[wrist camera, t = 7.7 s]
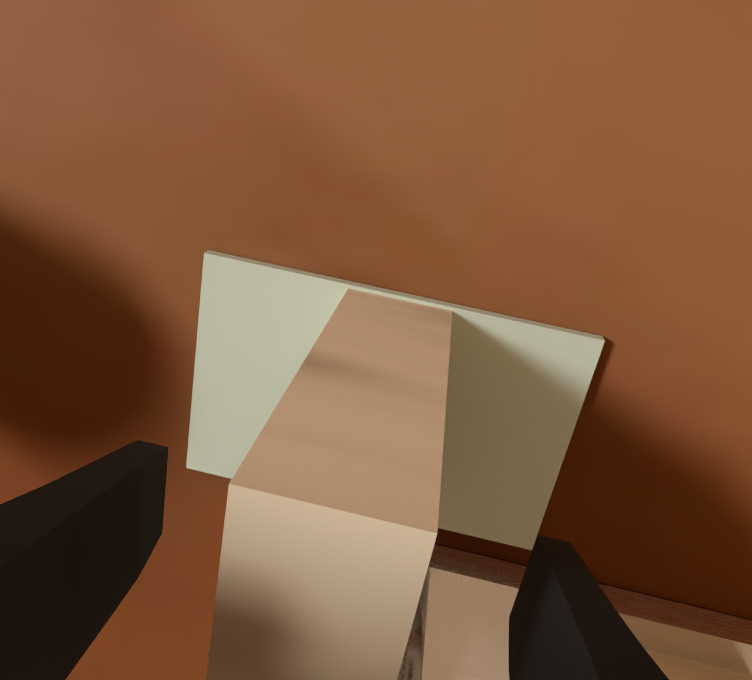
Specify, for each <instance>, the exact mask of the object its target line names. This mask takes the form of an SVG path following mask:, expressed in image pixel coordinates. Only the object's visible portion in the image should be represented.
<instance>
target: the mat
mask: <svg viewBox="0 0 752 680" xmlns="http://www.w3.org/2000/svg"><path fill="white" fill-rule="evenodd" d="M348 288H351V289H355V290H360V291H364V292H369V293H373V294H378V295H382V296H387V297H392V298H396V299H401V300H405V301H410V302H414V303H419V304H423V305H428V306H433V307H437V308H442V309H446V310H451V311H452V324H451V339H450V354H449V369H448V383H447V398H446V413H445V428H444V443H443V457H442V472H441V487H440V502H439V517H438V528H440V529H444V530H449V531H453V532H457V533H461V534H465V535H470V536H474V537H478V538H482V539H486V540H490V541H495V542H499V543H503V544H507V545H511V546H516V547H520V548H524V549H528V550H532V548H533V546H534V543H535V540H536V537H537V534H538V531H539V528H540V525H541V523H542V520H543V517H544V514H545V511H546V508H547V505H548V503H549V500H550V497H551V494H552V491H553V488H554V485H555V482H556V480H557V477H558V474H559V471H560V468H561V465H562V462H563V460H564V457H565V454H566V451H567V448H568V445H569V442H570V439H571V437H572V434H573V431H574V428H575V425H576V422H577V419H578V417H579V414H580V411H581V408H582V405H583V402H584V399H585V396H586V394H587V391H588V388H589V385H590V382H591V379H592V376H593V374H594V371H595V368H596V365H597V362H598V359H599V356H600V353H601V351H602V348H603V345H604V342H605V340H604V338H603V336H599V335H594V334H590V333H585V332H581V331H576V330H571V329H567V328H562V327H558V326H553V325H549V324H544V323H539V322H535V321H530V320H526V319H521V318H517V317H512V316H507V315H503V314H498V313H494V312H489V311H485V310H480V309H475V308H471V307H466V306H462V305H457V304H453V303H448V302H443V301H439V300H434V299H430V298H425V297H421V296H416V295H411V294H407V293H402V292H398V291H393V290H389V289H384V288H379V287H375V286H370V285H366V284H361V283H357V282H352V281H347V280H343V279H338V278H334V277H329V276H325V275H320V274H315V273H311V272H306V271H302V270H297V269H293V268H288V267H283V266H279V265H274V264H270V263H265V262H261V261H256V260H251V259H247V258H242V257H238V256H233V255H229V254H224V253H219V252H215V251H210V250H208V251H206V252H205V253H204V261H203V273H202V285H201V297H200V309H199V321H198V333H197V344H196V356H195V368H194V380H193V392H192V404H191V416H190V428H189V440H188V452H187V464H186V468H189V469H193V470H197V471H202V472H206V473H210V474H214V475H218V476H222V477H227V478H231V479H232V478H233V476H234V475H235V473H236V471H237V470H238V468H239V467H240V465H241V463H242V462H243V460H244V458H245V457H246V455H247V453H248V452H249V450H250V449H251V447H252V445H253V444H254V442H255V440H256V439H257V437H258V435H259V434H260V432H261V431H262V429H263V427H264V426H265V424H266V422H267V421H268V419H269V417H270V416H271V414H272V412H273V411H274V409H275V408H276V406H277V404H278V403H279V401H280V399H281V398H282V396H283V394H284V393H285V391H286V390H287V388H288V386H289V385H290V383H291V381H292V380H293V378H294V376H295V375H296V373H297V372H298V370H299V368H300V367H301V365H302V363H303V362H304V360H305V358H306V357H307V355H308V354H309V352H310V350H311V349H312V347H313V345H314V344H315V342H316V340H317V339H318V337H319V336H320V334H321V332H322V331H323V329H324V327H325V326H326V324H327V322H328V321H329V319H330V317H331V316H332V314H333V313H334V311H335V309H336V308H337V306H338V304H339V303H340V301H341V299H342V298H343V296H344V295H345V293H346V291H347V290H348Z"/></svg>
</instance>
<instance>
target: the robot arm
mask: <svg viewBox="0 0 752 680" xmlns="http://www.w3.org/2000/svg"><path fill="white" fill-rule="evenodd" d="M167 458H168V447H165V446H160V445H156V444H152V443H148V442H144V441H139V440H138V441H135V442H133V443H131V444H129V445H126V446H124V447H122V448H120V449H118V450H116V451H114V452H112V453H110V454H108V455H106V456H104V457H102V458H100V459H98V460H96V461H94V462H92V463H90V464H88V465H86V466H84V467H82V468H80V469H77V470H75V471H73V472H71V473H69V474H67V475H65V476H63V477H61V478H59V479H57V480H55V481H53V482H50V483H48V484H46V485H44V486H42V487H40V488H37V489H35V490H33V491H30V492H28V493H26V494H23V495H21V496H19V497H16V498H14V499H12V500H10V501H7V502H5V503H3V504H0V680H65V679H66V678H67V677H68V675H69V674H70V672H71V671H72V670H73V668H74V667H75V665H76V664H77V663H78V661H79V660H80V658H81V657H82V656H83V654H84V653H85V651H86V650H87V649H88V647H89V646H90V645H91V643H92V642H93V640H94V639H95V638H96V636H97V635H98V633H99V632H100V631H101V629H102V628H103V626H104V625H105V624H106V622H107V621H108V620H109V618H110V617H111V615H112V614H113V613H114V611H115V610H116V608H117V607H118V605H119V604H120V603H121V601H122V600H123V598H124V597H125V596H126V594H127V593H128V591H129V590H130V588H131V587H132V586H133V584H134V583H135V581H136V580H137V578H138V577H139V575H140V573H141V571H142V569H143V568H144V566H145V564H146V562H147V560H148V559H149V557H150V555H151V553H152V551H153V549H154V547H155V545H156V543H157V541H158V539H159V538H160V536H161V534H162V527H163V513H164V500H165V486H166V472H167ZM509 679H510V680H669V679H668V678H667V676H666V675H665V674H664V673H663V671H662V670H661V669H660V668H659V666H658V665H657V664H656V663H655V661H654V660H653V659H652V658H651V656H650V655H649V654H648V653H647V651H646V650H645V649H644V647H643V646H642V645H641V643H640V642H639V641H638V639H637V638H636V637H635V635H634V634H633V633H632V631H631V630H630V629H629V627H628V626H627V624H626V623H625V622H624V620H623V619H622V617H621V616H620V615H619V613H618V612H617V610H616V609H615V608H614V606H613V605H612V603H611V602H610V600H609V599H608V597H607V596H606V595H605V593H604V592H603V590H602V589H601V587H600V586H599V584H598V583H597V581H596V580H595V578H594V577H593V575H592V574H591V572H590V571H589V569H588V568H587V566H586V565H585V563H584V562H583V560H582V559H581V557H580V556H579V554H578V553H577V551H576V550H575V549H574V547H573V546H572V544H571V543H570V542H566V541H562V540H558V539H553V538H549V537H545V536H541V535H537V538H536V541H535V544H534V547H533V550H532V553H531V556H530V559H529V561H528V564H527V567H526V570H525V573H524V576H523V579H522V582H521V584H520V587H519V590H518V593H517V596H516V599H515V602H514V605H513V607H512V610H511V613H510V616H509Z"/></svg>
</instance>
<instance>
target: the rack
mask: <svg viewBox="0 0 752 680" xmlns="http://www.w3.org/2000/svg"><path fill="white" fill-rule="evenodd" d="M526 567H527V566H524V565H520V564H515V563H511V562H507V561H503V560H499V559H495V558H490V557H486V556H482V555H478V554H474V553H470V552H465V551H461V550H457V549H453V548H449V547H445V546H440V545H436V544H434V548H433V551H432V555H431V559H430V562H429V566H428V569H427V573H426V577H425V580H424V584H423V588H422V591H421V595H420V599H419V602H418V606H417V610H416V613H415V617H414V621H413V624H412V628H411V631H410V635H409V639H408V642H407V646H406V650H405V653H404V657H403V661H402V664H401V668H400V672H399V675H398V679H397V680H510V679H509V616H510V613H511V610H512V607H513V605H514V602H515V599H516V596H517V593H518V590H519V587H520V584H521V582H522V579H523V576H524V573H525V570H526ZM598 584H599V583H598ZM599 586H600V587H601V589H602V590H603V592H604V593H605V595H606V596H607V597H608V599H609V600H610V602H611V603H612V605H613V606H614V608H615V609H616V610H617V612H618V613H619V615H620V616H621V617H622V619H623V620H624V622H625V623H626V624H627V626H628V627H629V629H630V630H631V631H632V633H633V634H634V635H635V637H636V638H637V639H638V641H639V642H640V643H641V645H642V646H643V647H644V649H645V650H649V651H654V652H658V653H662V654H666V655H670V656H674V657H678V658H682V659H686V660H690V661H694V662H698V663H703V664H707V665H711V666H715V667H719V668H723V669H727V670H731V671H735V672H739V673H743V674H747V675H751V676H752V620H748V619H744V618H740V617H736V616H732V615H728V614H724V613H719V612H715V611H711V610H707V609H703V608H699V607H694V606H690V605H686V604H682V603H678V602H674V601H669V600H665V599H661V598H657V597H653V596H649V595H644V594H640V593H636V592H632V591H628V590H624V589H619V588H615V587H611V586H607V585H603V584H599ZM209 653H210V650H209ZM209 653H208V657H209Z"/></svg>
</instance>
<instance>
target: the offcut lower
mask: <svg viewBox="0 0 752 680" xmlns="http://www.w3.org/2000/svg"><path fill="white" fill-rule="evenodd" d="M646 651H647V653H648V654H649V655H650V656H651V658H652V659H653V660H654V661H655V663H656V664H657V665H658V666H659V668H660V669H661V670H662V671H663V673H664V674H665V675H666V676H667V678H668V679H669V680H752V676H751V675H747V674H743V673H739V672H735V671H731V670H727V669H723V668H719V667H715V666H711V665H707V664H703V663H698V662H694V661H690V660H686V659H682V658H678V657H674V656H670V655H666V654H662V653H658V652H654V651H649V650H646Z"/></svg>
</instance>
